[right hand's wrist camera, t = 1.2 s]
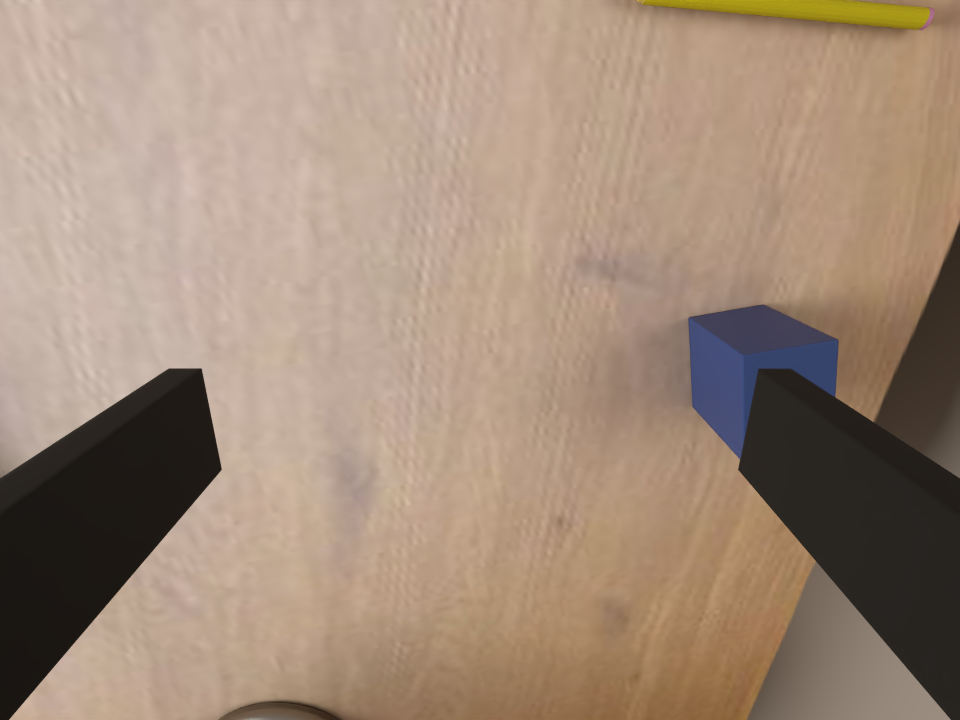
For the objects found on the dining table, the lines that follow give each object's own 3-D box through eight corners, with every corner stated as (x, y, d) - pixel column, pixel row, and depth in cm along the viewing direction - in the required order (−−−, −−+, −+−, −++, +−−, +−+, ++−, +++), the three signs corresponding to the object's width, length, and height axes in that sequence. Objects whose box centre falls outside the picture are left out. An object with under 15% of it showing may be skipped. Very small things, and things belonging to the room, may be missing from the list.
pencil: (922, 10, 28) (937, 5, 27) (915, 32, 28) (930, 27, 27) (615, -18, 27) (620, -25, 26) (612, 4, 28) (617, -2, 27)
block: (763, 304, 33) (839, 339, 27) (763, 395, 36) (832, 450, 29) (688, 317, 34) (742, 355, 27) (692, 407, 36) (743, 464, 29)
